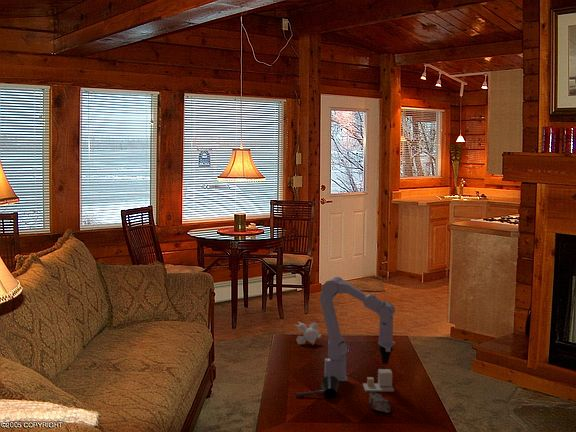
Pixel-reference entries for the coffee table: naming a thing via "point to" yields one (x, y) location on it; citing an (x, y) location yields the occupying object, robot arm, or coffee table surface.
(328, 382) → the coffee pot
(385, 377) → the beige block
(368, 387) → the grey board
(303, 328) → the character figurine
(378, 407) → the mineral rock
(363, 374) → the coffee table surface
